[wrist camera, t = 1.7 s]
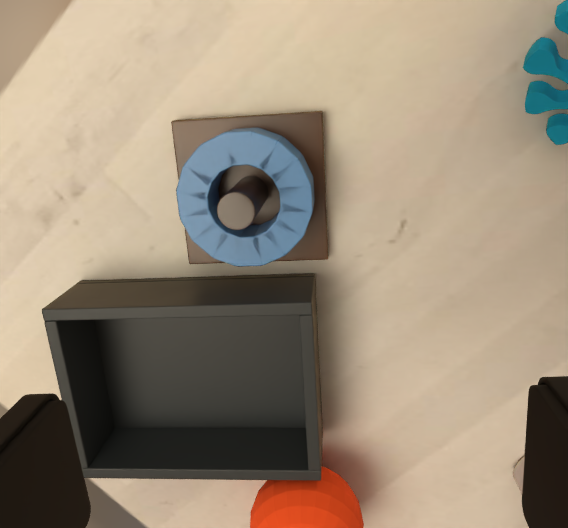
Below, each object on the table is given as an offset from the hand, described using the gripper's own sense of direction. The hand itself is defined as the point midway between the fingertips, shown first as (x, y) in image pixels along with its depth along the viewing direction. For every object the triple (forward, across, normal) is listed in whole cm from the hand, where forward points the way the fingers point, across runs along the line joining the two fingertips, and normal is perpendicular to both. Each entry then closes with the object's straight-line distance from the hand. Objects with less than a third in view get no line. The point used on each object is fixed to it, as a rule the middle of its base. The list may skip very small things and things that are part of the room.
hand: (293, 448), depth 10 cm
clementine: (+20, +1, +18) cm, 27 cm away
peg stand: (+20, +3, -2) cm, 20 cm away
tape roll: (+19, +3, -2) cm, 19 cm away
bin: (+20, +7, +8) cm, 23 cm away
